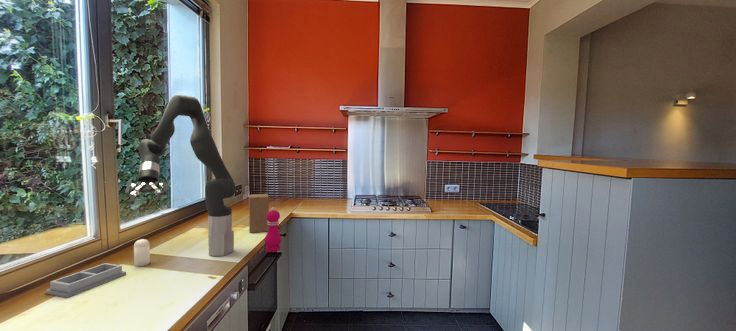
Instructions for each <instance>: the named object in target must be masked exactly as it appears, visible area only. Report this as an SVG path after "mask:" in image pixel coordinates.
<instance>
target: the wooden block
mask: <svg viewBox="0 0 736 331" xmlns="http://www.w3.org/2000/svg"><path fill="white" fill-rule="evenodd" d="M269 197H270V196H269V194H268V193H261V194H260V193H258V194H255V193H253V194H249V198H248V199H249V200H248V201H249V203H248V204H249V205H248V206H249V208H248V209H249V211H248V212H249V225H248V226H249V228H248V231H249V232H248V233H249V234H255V233H258V234H259V233H267V232H268V224H267V223H268V220H267V218H266V215H267V213H268V212H269V210H270V208H269V207H270V202H269V200H270V198H269Z"/></svg>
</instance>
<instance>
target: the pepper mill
mask: <svg viewBox="0 0 736 331" xmlns="http://www.w3.org/2000/svg"><path fill="white" fill-rule="evenodd" d="M266 218H267V220H268V223H267V224H268V232H266V235H265V238H264V244H265V245H266V246H265V251H266V252H269V253H276V252H279V251H280V250H281V245H280V244H281V242H282V236H281V234H280V232H279V228H278V227H279V220H280V218H281V215H280V211H278V210H276V207H274V206H272V207H271V208H270V211H269V212H268V213H267V215H266Z"/></svg>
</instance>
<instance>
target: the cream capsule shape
mask: <svg viewBox="0 0 736 331" xmlns="http://www.w3.org/2000/svg"><path fill="white" fill-rule="evenodd" d="M150 256H151V255H150V241H149V240H147V239H146V238H145V239H144V238H141V239H138V240H136V241H135V242H134V244H133V261H134V262H133V265H134V267H137V268H138V267H144V266H147V265H149V264H150V263H151V262H150V261H151V260H150V259H151V257H150Z"/></svg>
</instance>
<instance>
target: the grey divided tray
mask: <svg viewBox="0 0 736 331" xmlns="http://www.w3.org/2000/svg"><path fill="white" fill-rule="evenodd" d="M125 275H127V271H124V270H123V265H120V264H114V263H108V262H107V263H106V262H104V263H102V264H99V265H96V266H93V267H90V268H86V269H83V270H81V271H77V272H75V273H72V274H69V275H67V276H63V277H60V278H57V279H55V280H54V279H53V280H51V281H49V288H47V289H45V294H47V295H52V296H57V297H62V298H67V299H68V298H70V297H73V296H75V295H77V294H80V293H83V292H86V291H88V290H91V289H93V288H95V287H98V286H101V285H103V284H105V283H108V282H111V281H113V280H115V279H116V280H117V279H118V278H120V277H123V276H125Z"/></svg>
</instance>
